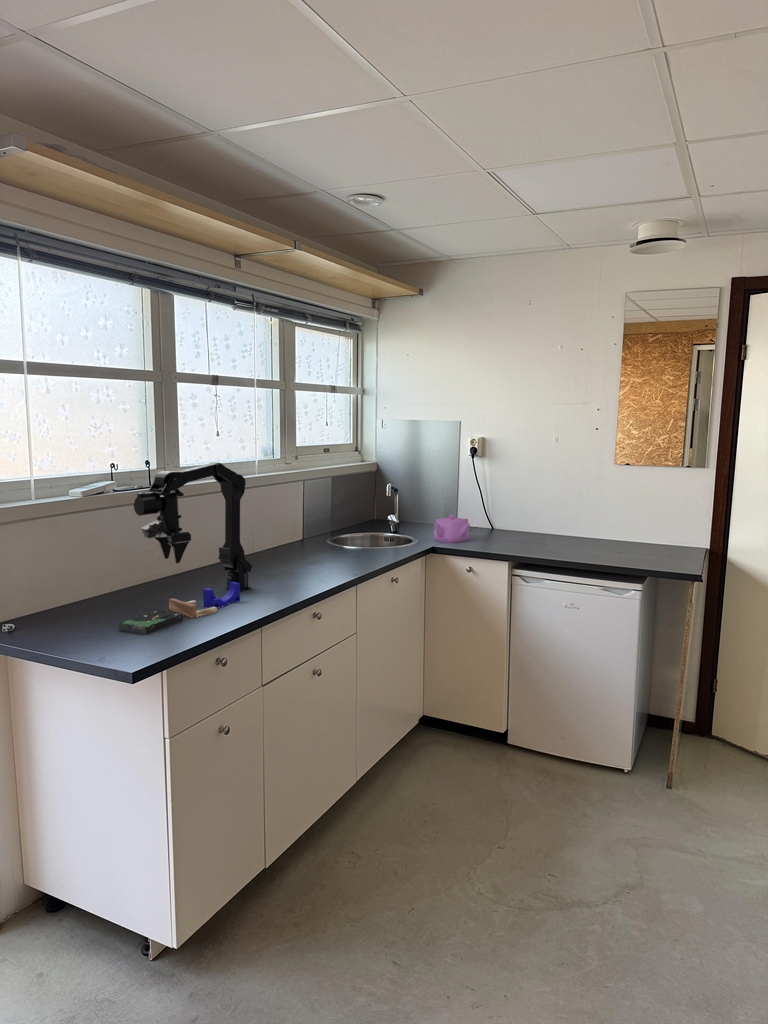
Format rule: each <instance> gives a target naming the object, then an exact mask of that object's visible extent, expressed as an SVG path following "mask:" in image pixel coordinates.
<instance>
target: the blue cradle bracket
mask: <svg viewBox="0 0 768 1024" xmlns="http://www.w3.org/2000/svg"><path fill="white" fill-rule="evenodd" d="M227 590H228V591H227V593H225V595H224V596H223V597H221V598H218V597H216V595H215V594H214V593H215V592H214V589H213V588H208V587H205V588H203V589H202V593H203V594H202V596H203V597H202V598H203V608H205V607H207V608H211V607H217V609H219V608H218V607H220V608H223V607H222V606H224V607H227V606H226V605H228V606H229V604H228V603H230V604H233V603H232V602H234V603H237V602H236V601H238V602H241V591H240V583H237V582H231V583H230V587H229V589H227Z"/></svg>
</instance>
